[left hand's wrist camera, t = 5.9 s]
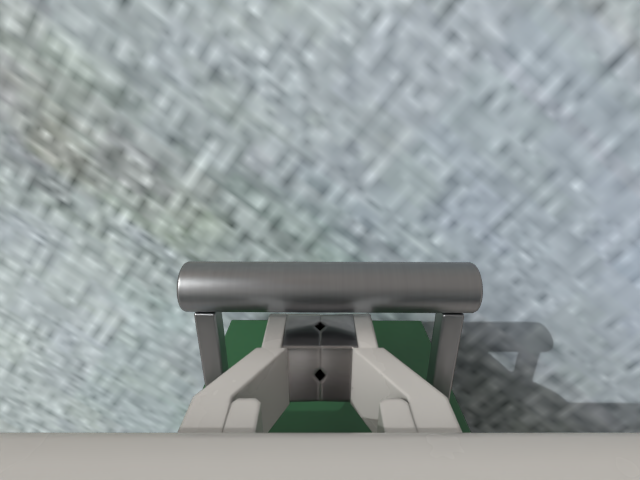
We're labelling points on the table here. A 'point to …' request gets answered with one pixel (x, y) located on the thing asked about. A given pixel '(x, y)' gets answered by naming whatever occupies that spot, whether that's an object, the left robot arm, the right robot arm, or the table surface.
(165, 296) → the table surface
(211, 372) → the drawer
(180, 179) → the table surface
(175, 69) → the table surface
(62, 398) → the table surface
